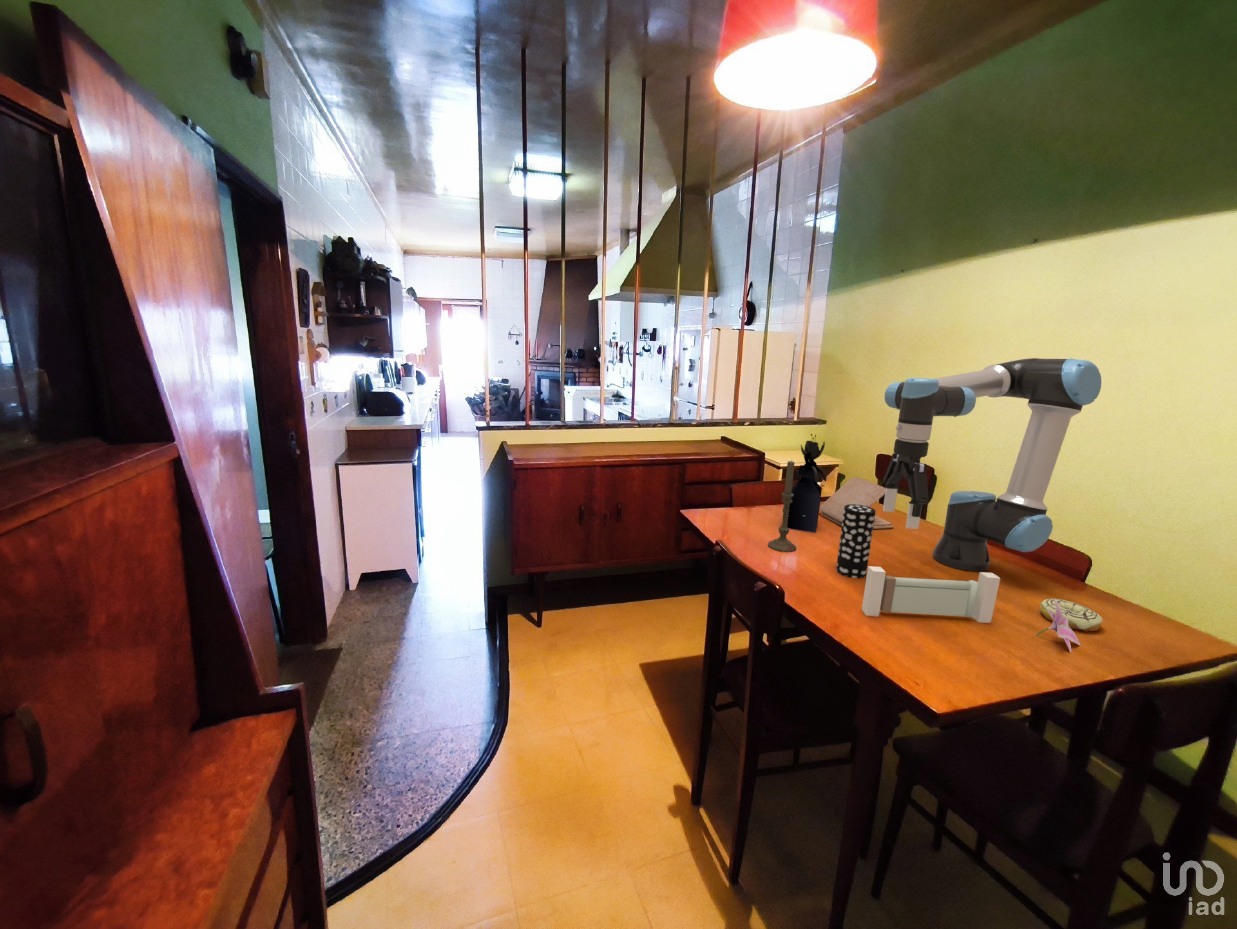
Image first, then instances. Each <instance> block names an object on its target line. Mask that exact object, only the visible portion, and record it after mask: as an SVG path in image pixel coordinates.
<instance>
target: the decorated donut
mask: <svg viewBox="0 0 1237 929" xmlns="http://www.w3.org/2000/svg"><path fill="white" fill-rule="evenodd" d="M1055 600H1056V601H1057V603H1058V604H1059V606H1060V608H1061V610H1062V613H1063V616H1064V617H1066V618H1067V620H1068V627H1069V628H1070V629H1071V630H1073V629H1074V630H1076V631H1077V630H1078V631H1082V632H1084V633H1085V632H1094V631H1098V630H1099V629H1100V628H1101V625H1102V622H1103V621H1104V620H1103V619H1104V618H1103V617H1102V616H1101V615H1099V613H1097V612H1096V611H1094V610H1092V609H1091V608H1089V607H1086V606H1084V605H1081V604H1079V603H1076V602H1073V601H1069V600H1065V599H1060V598H1055ZM1039 609H1040V611H1041V614H1042V615H1043V616H1044V617H1045V619H1046V620H1049V621H1050V622H1053V619H1052V617H1051V615H1050V614H1049V612H1048V611H1047V609H1049V610H1051V611H1052V612H1053V613H1054V614H1055V612H1056V606H1055V601H1054V598H1046V599H1044V600H1043V601H1042V602H1041V603H1040V606H1039ZM1054 618H1055V617H1054Z"/></svg>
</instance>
